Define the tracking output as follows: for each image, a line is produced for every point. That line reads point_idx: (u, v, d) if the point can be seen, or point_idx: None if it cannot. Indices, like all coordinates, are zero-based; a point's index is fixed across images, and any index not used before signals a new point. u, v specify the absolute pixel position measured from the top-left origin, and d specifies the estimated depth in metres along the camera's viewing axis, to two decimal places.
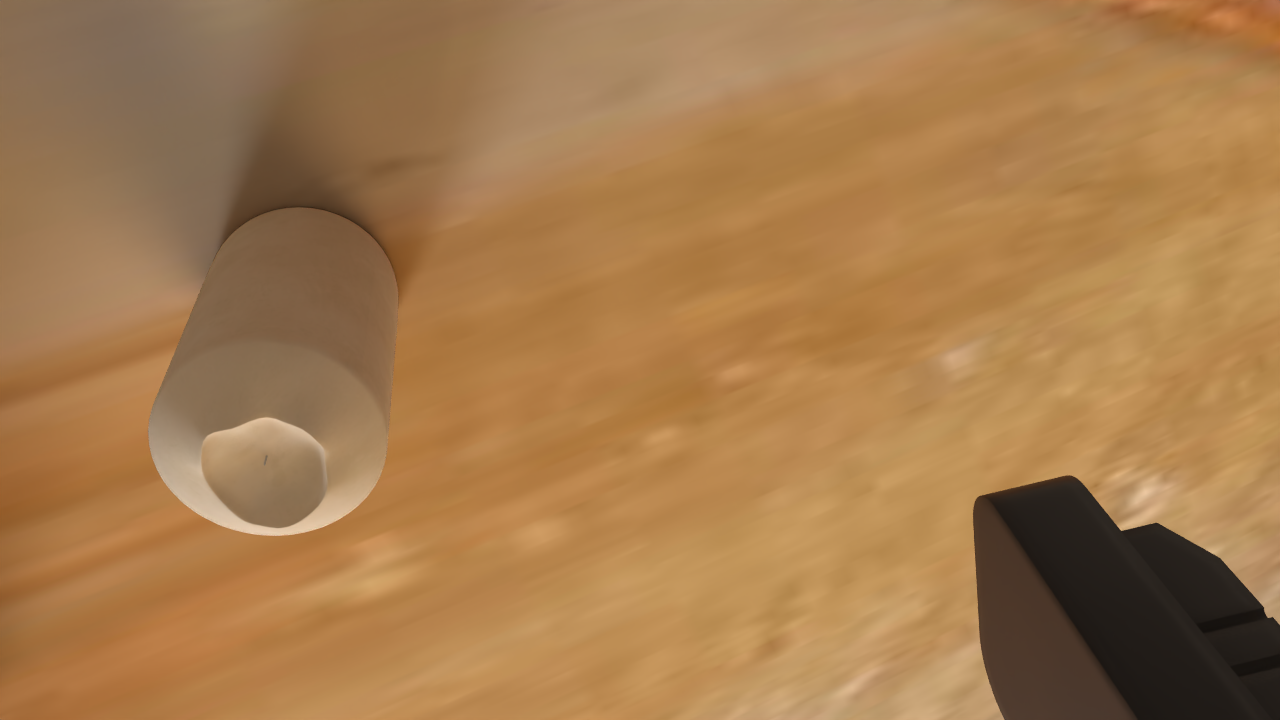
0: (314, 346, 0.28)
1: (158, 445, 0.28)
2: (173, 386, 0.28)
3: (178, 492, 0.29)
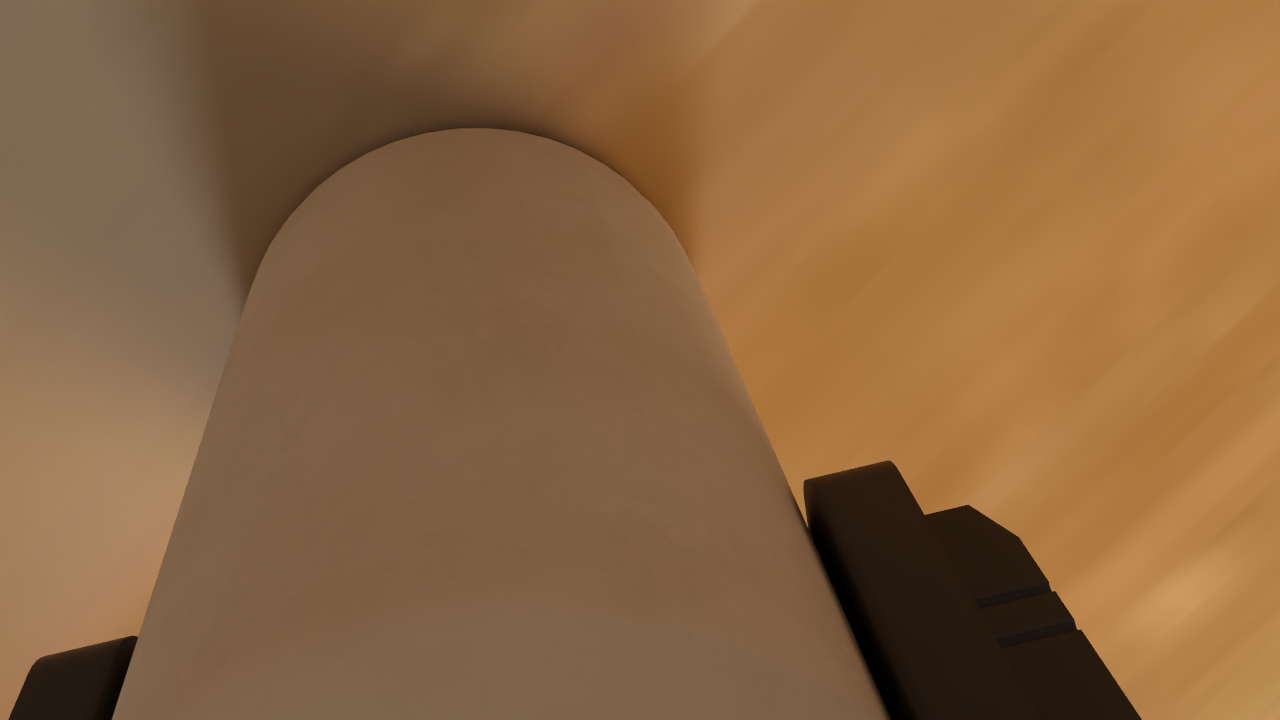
0: (493, 602, 0.06)
1: None
2: None
3: None
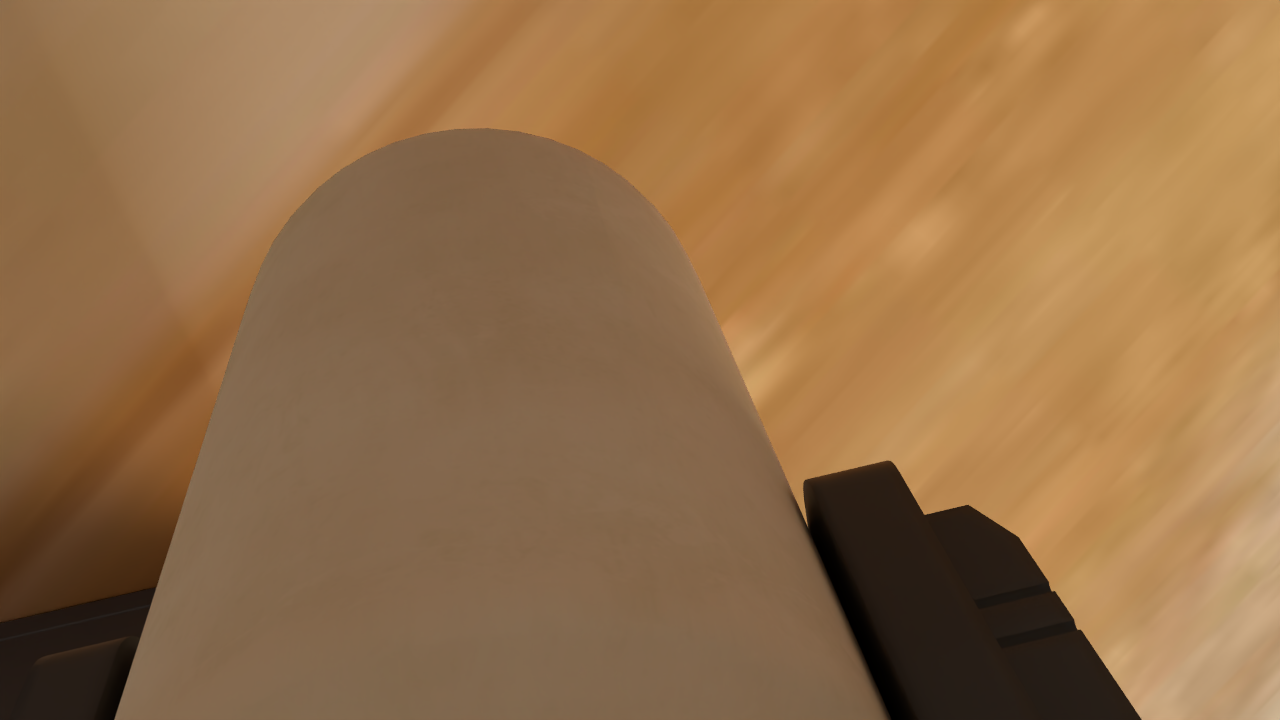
0: (493, 599, 0.07)
1: None
2: None
3: None
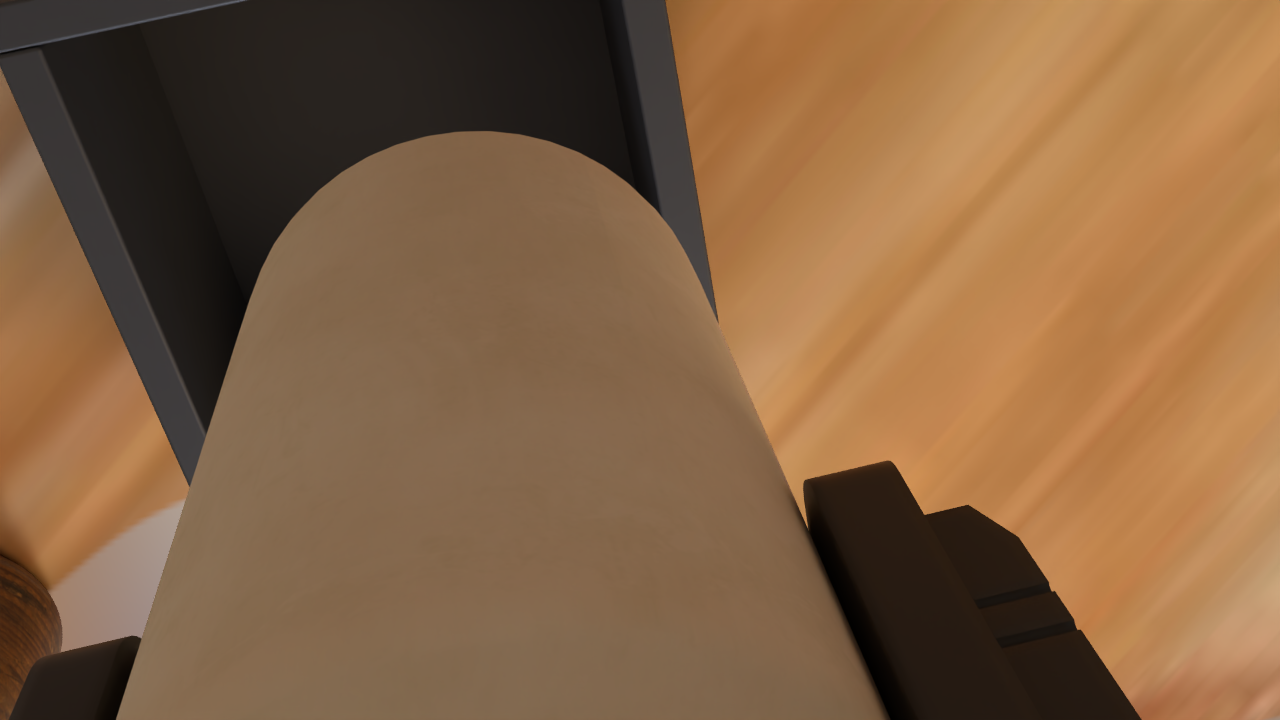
0: (495, 607, 0.06)
1: None
2: None
3: None
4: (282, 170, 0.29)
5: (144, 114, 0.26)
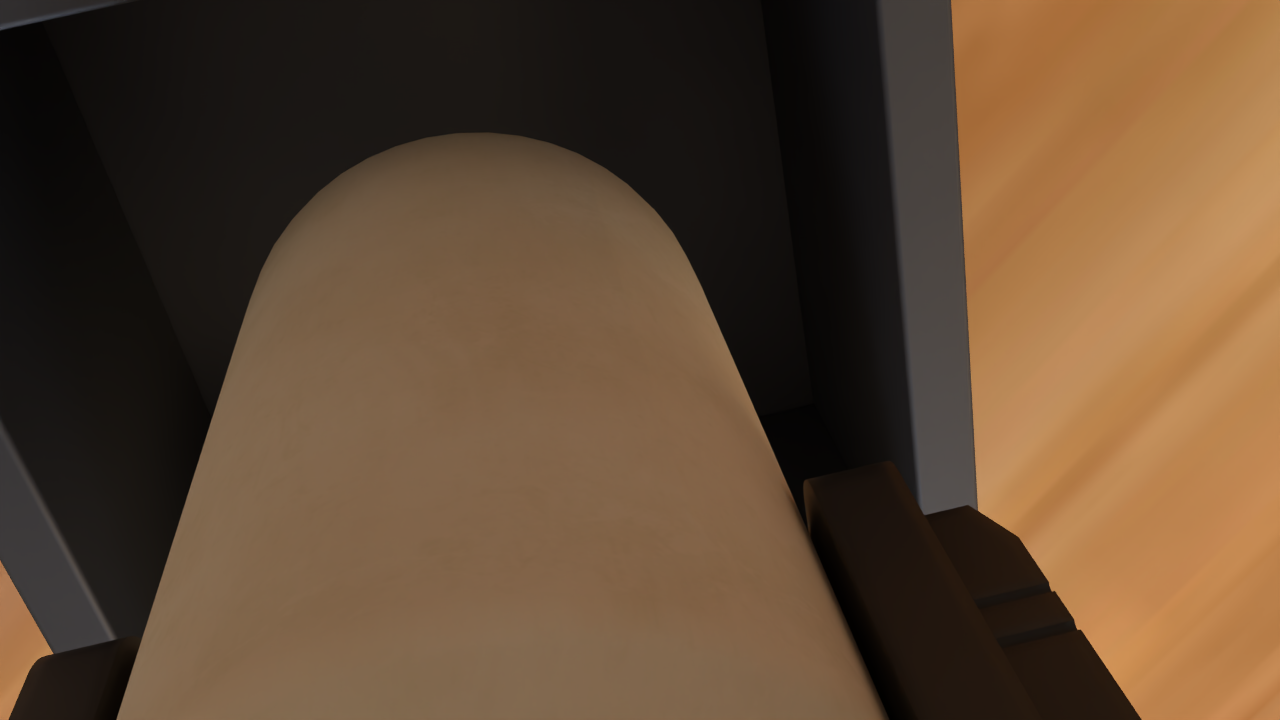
0: (497, 609, 0.06)
1: None
2: None
3: None
4: None
5: (51, 174, 0.16)
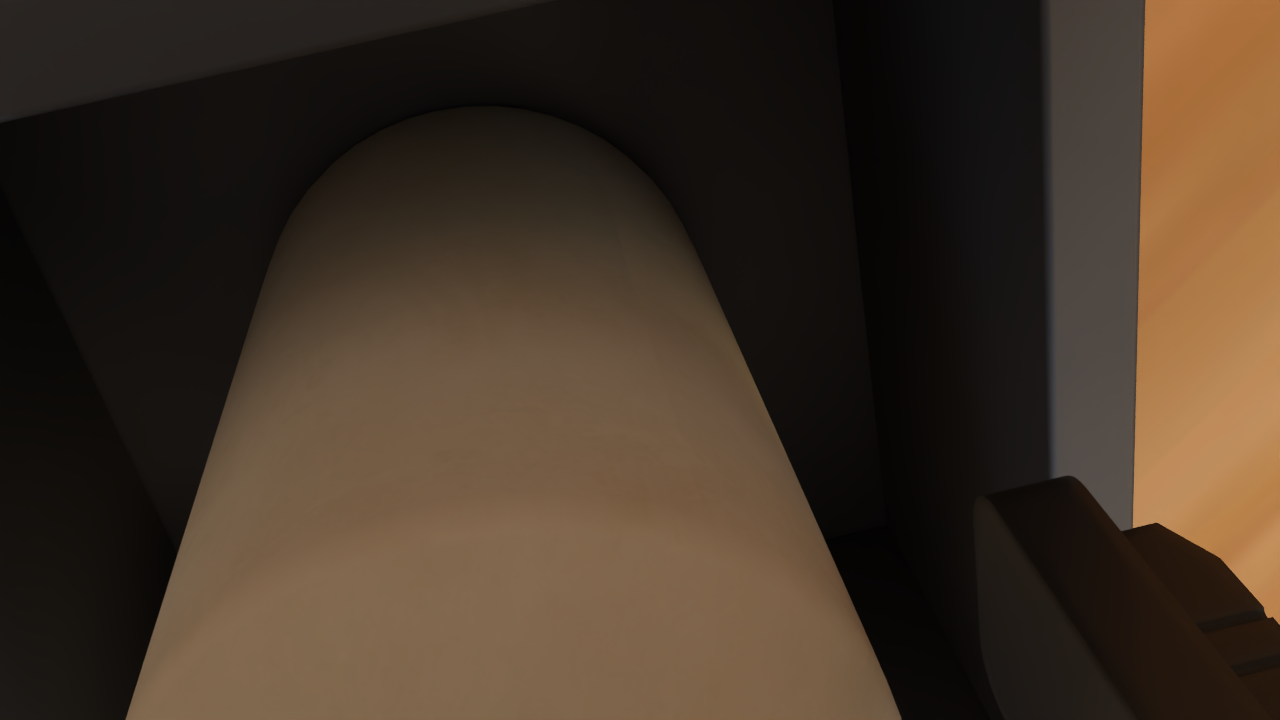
0: (502, 506, 0.07)
1: None
2: None
3: None
4: None
5: None
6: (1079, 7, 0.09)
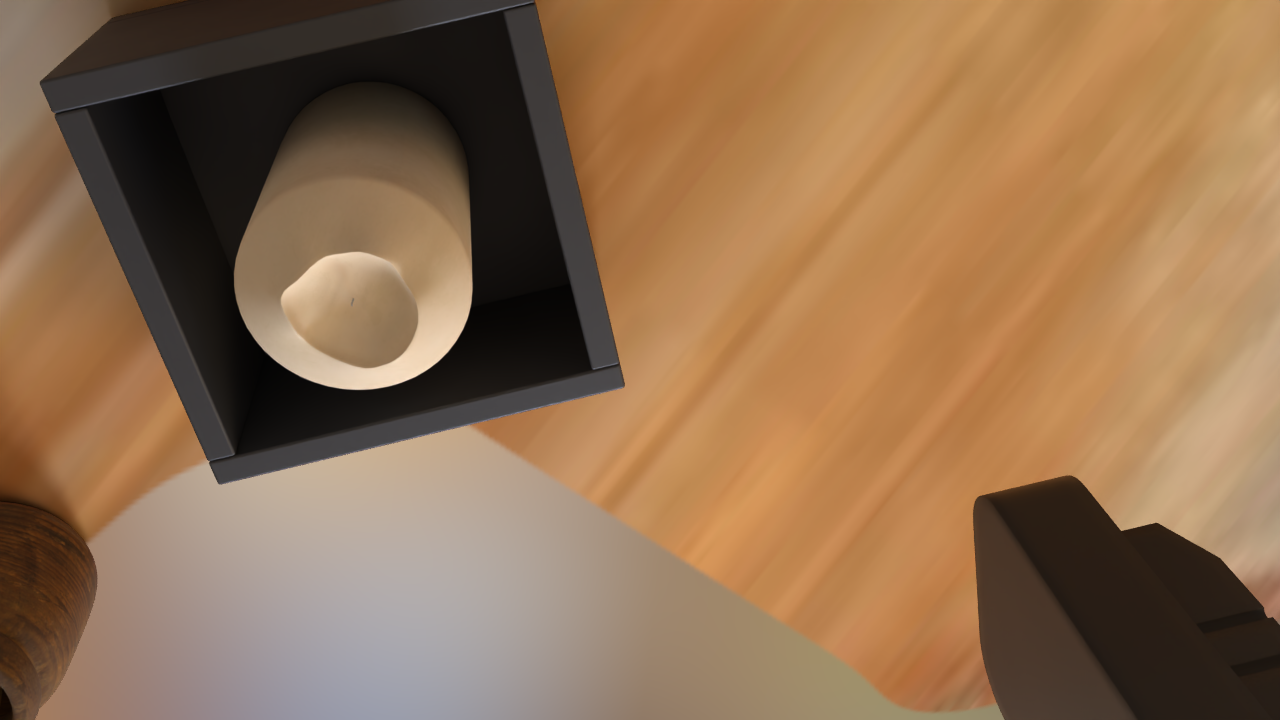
0: (341, 175, 0.28)
1: (259, 334, 0.29)
2: (241, 272, 0.28)
3: (301, 372, 0.29)
4: None
5: (162, 153, 0.33)
6: (521, 42, 0.29)
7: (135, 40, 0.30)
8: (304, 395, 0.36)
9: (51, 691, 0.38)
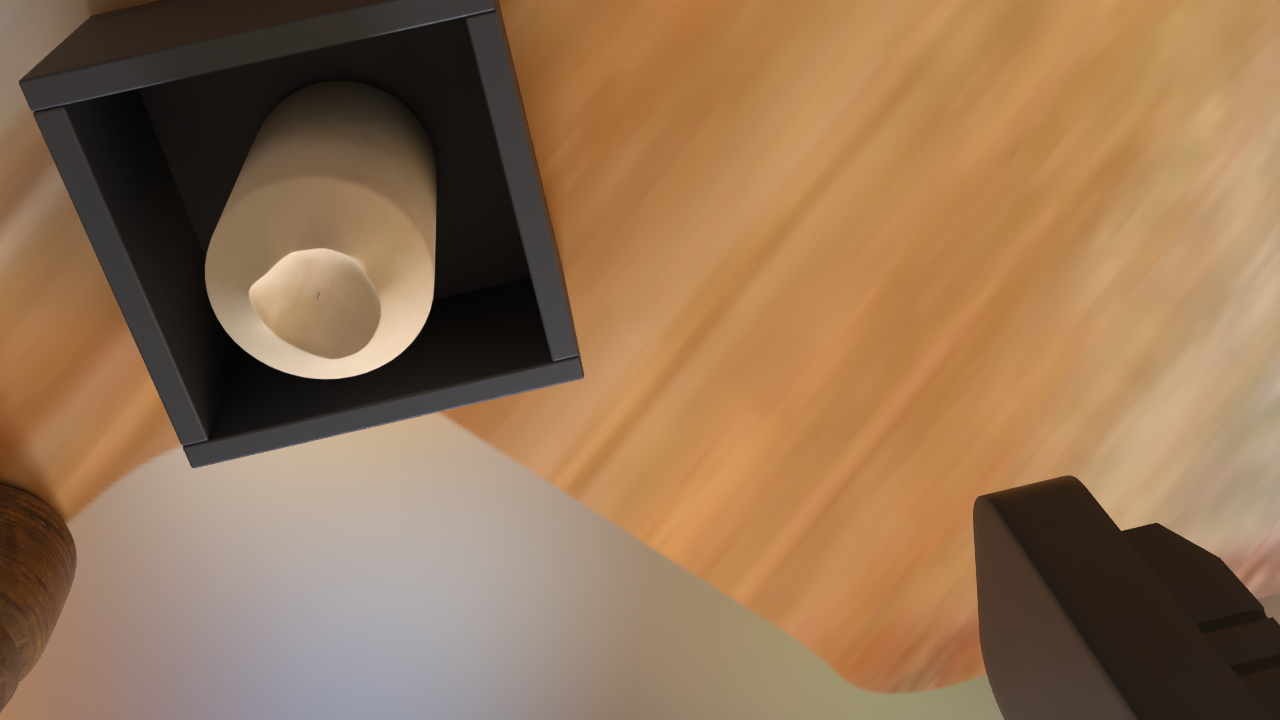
0: (308, 174, 0.29)
1: (229, 326, 0.30)
2: (211, 266, 0.29)
3: (270, 361, 0.31)
4: None
5: (139, 148, 0.34)
6: (483, 47, 0.30)
7: (112, 40, 0.31)
8: (276, 382, 0.37)
9: (30, 666, 0.40)
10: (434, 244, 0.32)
